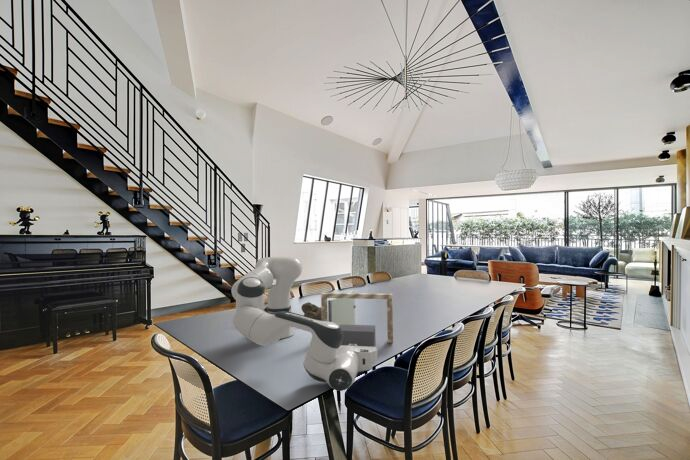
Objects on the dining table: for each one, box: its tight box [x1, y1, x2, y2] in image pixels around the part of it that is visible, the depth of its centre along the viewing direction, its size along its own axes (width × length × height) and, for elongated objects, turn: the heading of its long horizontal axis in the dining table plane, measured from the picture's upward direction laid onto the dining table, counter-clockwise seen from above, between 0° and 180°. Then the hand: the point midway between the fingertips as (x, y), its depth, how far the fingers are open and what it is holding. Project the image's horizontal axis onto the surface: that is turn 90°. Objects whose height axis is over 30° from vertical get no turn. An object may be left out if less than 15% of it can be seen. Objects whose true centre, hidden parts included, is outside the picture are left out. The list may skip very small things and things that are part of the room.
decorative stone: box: [300, 301, 322, 320], centre depth 179 cm, size 16×11×15 cm
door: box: [327, 290, 357, 326], centre depth 158 cm, size 27×3×18 cm, turn 153°
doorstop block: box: [340, 324, 377, 347], centre depth 135 cm, size 16×9×9 cm, turn 80°
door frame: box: [320, 292, 394, 344], centre depth 144 cm, size 33×2×22 cm, turn 80°
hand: (353, 345), depth 124 cm, fingers closed
